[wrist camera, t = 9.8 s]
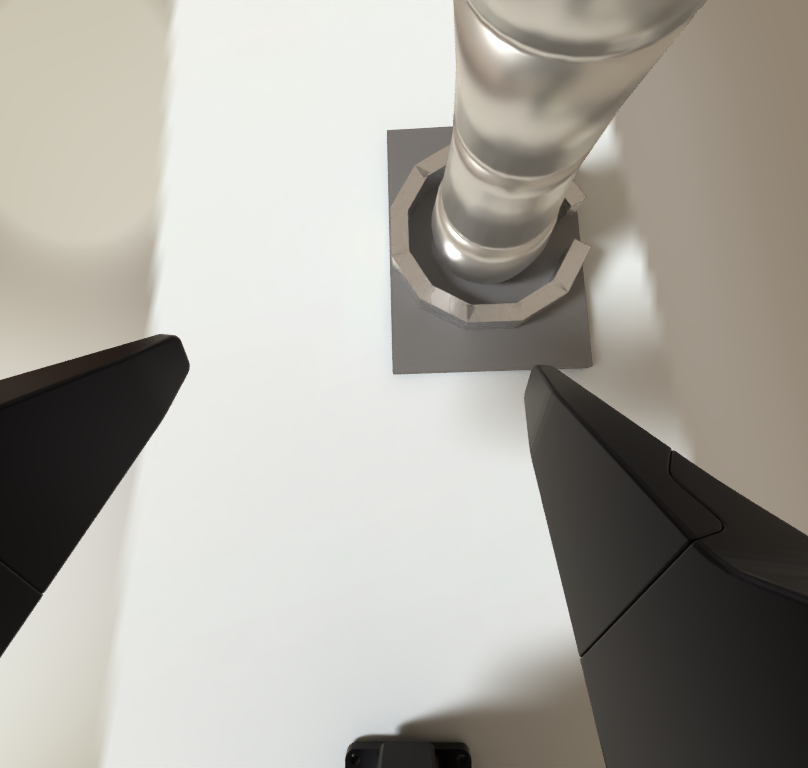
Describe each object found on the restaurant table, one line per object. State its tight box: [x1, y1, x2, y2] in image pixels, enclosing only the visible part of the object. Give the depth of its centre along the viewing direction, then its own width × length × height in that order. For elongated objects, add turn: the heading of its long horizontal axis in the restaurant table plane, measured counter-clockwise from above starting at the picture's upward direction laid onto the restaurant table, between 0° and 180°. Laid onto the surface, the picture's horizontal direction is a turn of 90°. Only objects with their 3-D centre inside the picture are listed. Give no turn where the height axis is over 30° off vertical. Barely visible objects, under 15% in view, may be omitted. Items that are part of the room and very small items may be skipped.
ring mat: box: [387, 127, 592, 374], centre depth 22 cm, size 16×12×1 cm
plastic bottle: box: [431, 0, 707, 284], centre depth 12 cm, size 6×7×20 cm
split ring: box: [390, 145, 591, 331], centre depth 21 cm, size 11×11×2 cm
